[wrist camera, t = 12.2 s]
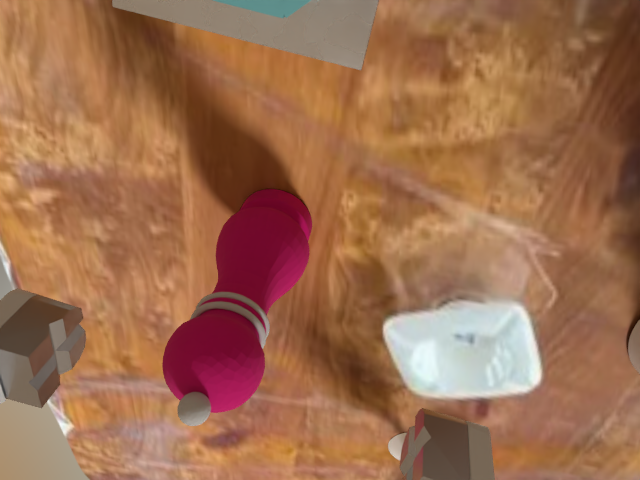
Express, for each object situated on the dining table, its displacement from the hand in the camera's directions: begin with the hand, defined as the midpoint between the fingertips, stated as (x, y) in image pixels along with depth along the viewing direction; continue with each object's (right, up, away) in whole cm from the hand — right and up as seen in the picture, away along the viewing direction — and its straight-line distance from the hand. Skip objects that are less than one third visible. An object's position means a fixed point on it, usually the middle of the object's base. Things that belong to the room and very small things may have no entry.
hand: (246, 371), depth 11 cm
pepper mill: (-2, +5, +31) cm, 31 cm away
